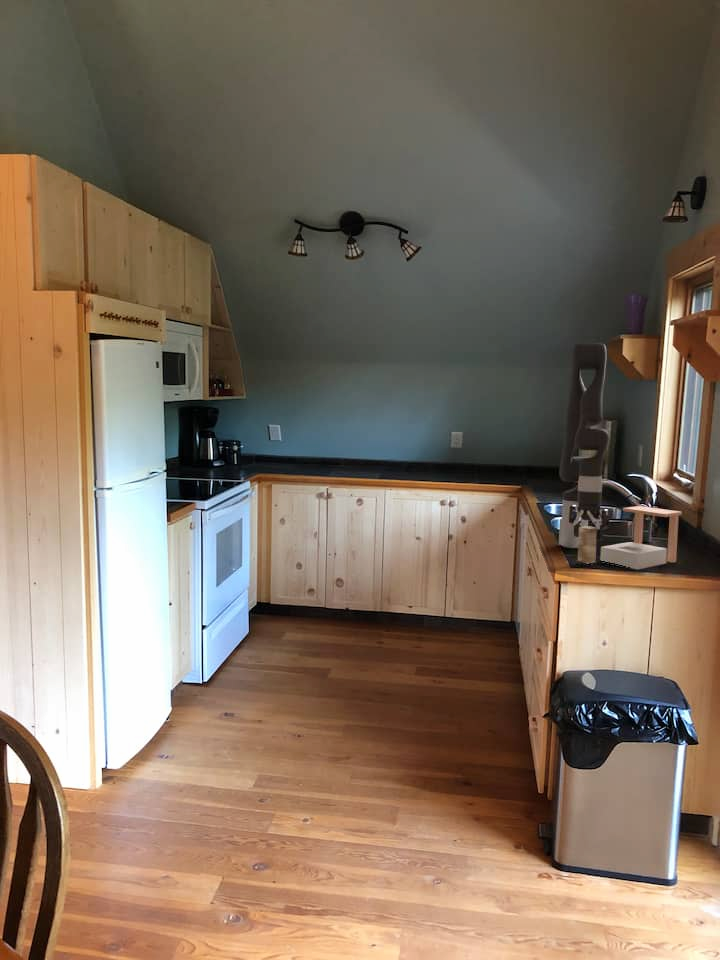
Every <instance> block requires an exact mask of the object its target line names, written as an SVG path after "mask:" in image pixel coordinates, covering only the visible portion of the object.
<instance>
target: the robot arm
mask: <svg viewBox="0 0 720 960" xmlns="http://www.w3.org/2000/svg"><path fill="white" fill-rule="evenodd" d="M606 365H607V347H606V345H605V344H603V343H596V342H595V343H594V342H576V343H575V344H574V346H573V348H572V352H571V365H570V385H569V386H570V387H569V394H568V402H567V407H566V415H565V416H566V417H565V428H564V430H565V431H564V432H565V433H564V440H563V446H562V450H561V452H562V453H561V457H560V463H559V472H558V473H559V478H560V479H561V481H562V482H570V483H572V482H576V483H577V486H575V487H573V488H571V489H569V490H565V491H564V492H563V494H562V512H561V519H559V526H558V527H559V530H558V531H559V532H558V533H559V534H558V535H559V536H558V545H559V546H561V547H563V548H569V549H578V541H579V527H584V526H588V525H589V522H592V524H593V525H595V528H597V529H596V542H597V541H598V542H600V541H602V540H603V539H604V529H608V528H610V510H609V509H606V508H605V509H602V508H601V505H602V503H603V502H602V494H603V478H602V475H603V473H602V471H603V462H604V461H603V460H604V456H605V452H606V451H607V448H608V444H609V441H610V434H609V433H608V431H607V430H606V429H604V428H592V427H595V426H598V425H600V424H601V423H602V422H603V417H604V416H603V396H604V395H603V394H604V387H605V379H606V367H607V366H606ZM582 371H593V372H594V371H595V373H594V377H593V379H592V381H591V383H590V384H589V385H588V387H587V388H586V386H585V385H584V382H583V378H582V377H581V376H582V375H581V372H582ZM576 448H577V449H578V450H579V451H596V453H595V454H594V455H593V456H573V455H574V452H575V449H576Z"/></svg>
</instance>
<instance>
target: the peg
mask: <svg viewBox="0 0 720 960" xmlns="http://www.w3.org/2000/svg"><path fill="white" fill-rule="evenodd" d="M596 529H597V527H596V526H595V527H593V526H590V525H589V526H584V527H579V541H578V548H577V550H578V551H577V562H578V561H579V562H583V563H586V564H589V563H594V562H595V563H596V558H597V557H596V555H597V540H596Z"/></svg>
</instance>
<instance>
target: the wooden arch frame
mask: <svg viewBox="0 0 720 960" xmlns="http://www.w3.org/2000/svg"><path fill="white" fill-rule="evenodd" d="M622 511H623V512H627V513H628V512H629V513H633V514H634V517H635V526H634V541H633V543H639V544H643V543H642V537H643V517H644V514H647V515H650V516H655V517H663V518H668V517H669V520H668V521H669V522H668V523H669V524H668V537H667V538H668V540H667V556H666V563H668V562H669V563H676V562H677V550H678V533H679V532H678V530H679V517H680V516H681V515H683V512H682V511H680V510H673V509H672V510H671V509H664V508H656V507H651V506H650V507H649V506H642V505H637V506H629V507H622Z"/></svg>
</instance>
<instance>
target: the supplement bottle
mask: <svg viewBox="0 0 720 960" xmlns="http://www.w3.org/2000/svg"><path fill="white" fill-rule="evenodd" d="M650 516H651V515H647V514H644V517H643V537H642V542H649V543H651V539H652V528H653V527H652V525H653V520H652V518H651V517H650ZM634 526H635V516H634V517H633V519H632V529H631V531H632V532H631V541H632V540H633V541H632V542H634Z"/></svg>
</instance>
